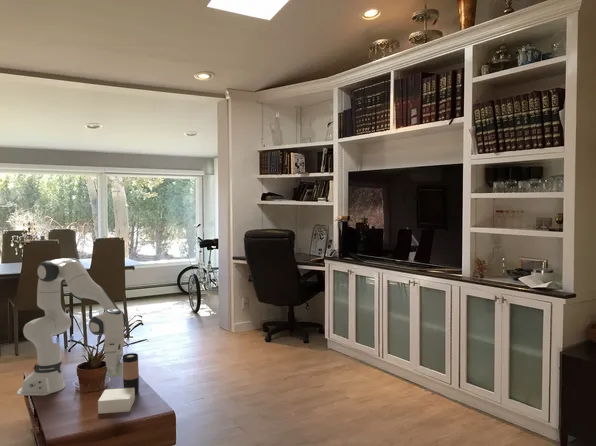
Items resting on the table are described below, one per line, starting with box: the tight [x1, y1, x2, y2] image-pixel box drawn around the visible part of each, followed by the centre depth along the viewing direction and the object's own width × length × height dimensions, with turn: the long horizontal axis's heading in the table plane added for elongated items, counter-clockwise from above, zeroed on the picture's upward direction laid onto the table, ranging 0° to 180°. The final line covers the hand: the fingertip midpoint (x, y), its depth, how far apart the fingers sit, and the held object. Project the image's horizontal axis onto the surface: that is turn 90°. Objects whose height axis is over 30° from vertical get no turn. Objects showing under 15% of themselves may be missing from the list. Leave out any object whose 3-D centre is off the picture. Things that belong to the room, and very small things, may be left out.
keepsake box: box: [97, 387, 136, 415], centre depth 236 cm, size 14×14×6 cm
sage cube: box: [108, 362, 123, 378], centre depth 235 cm, size 5×5×5 cm
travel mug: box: [122, 352, 140, 396], centre depth 251 cm, size 8×8×20 cm
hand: (115, 371), depth 235 cm, fingers closed on sage cube, 5 cm apart
